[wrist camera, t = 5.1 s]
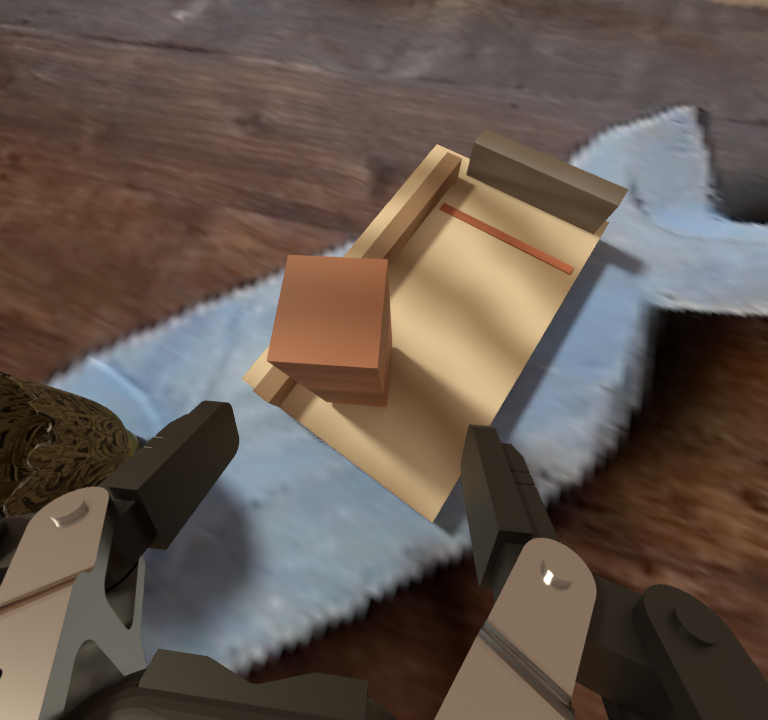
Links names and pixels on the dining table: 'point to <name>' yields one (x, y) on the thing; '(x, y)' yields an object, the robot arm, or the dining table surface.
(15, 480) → the olive rounded hollow piece
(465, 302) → the birch board
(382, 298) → the tall copper-brown prism
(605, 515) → the dining table surface
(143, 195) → the dining table surface
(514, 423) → the dining table surface
